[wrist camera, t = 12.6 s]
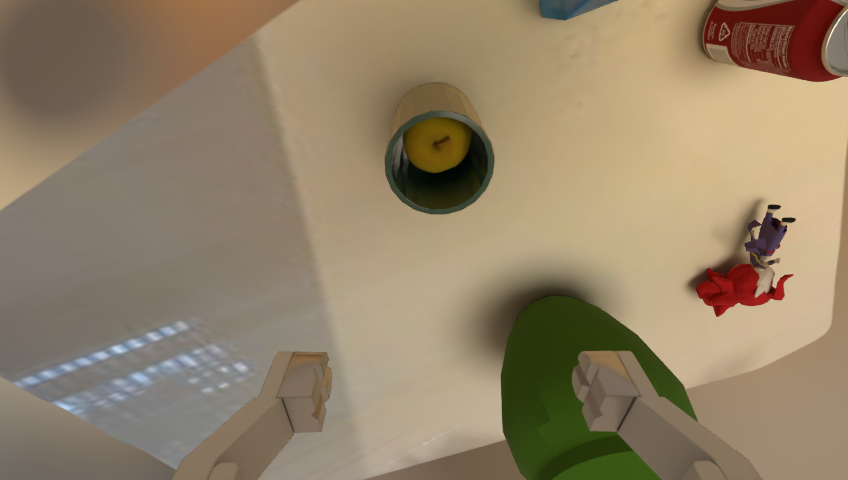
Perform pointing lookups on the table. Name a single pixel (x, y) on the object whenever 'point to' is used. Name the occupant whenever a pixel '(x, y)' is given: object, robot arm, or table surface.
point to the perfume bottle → (569, 7)
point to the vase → (570, 393)
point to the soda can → (781, 37)
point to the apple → (437, 143)
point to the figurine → (749, 270)
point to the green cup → (450, 185)
